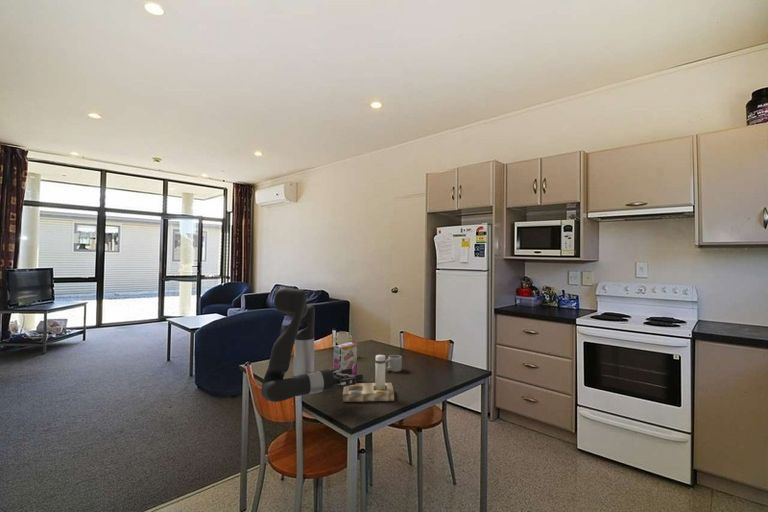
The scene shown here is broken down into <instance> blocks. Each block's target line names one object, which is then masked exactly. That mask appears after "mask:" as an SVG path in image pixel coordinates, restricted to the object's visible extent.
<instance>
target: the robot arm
mask: <svg viewBox="0 0 768 512" xmlns="http://www.w3.org/2000/svg"><path fill="white" fill-rule="evenodd" d="M273 298H274V299H273V300H274V301H273V305H274V308H275V309H276V311H277V312H279V313H284V314H285V315H286V316H288V317H289V318H290V319H291V321H290V323H289V324H288V325H287V327H286V328H285V329H284V331H283V332H282V333H281V334H280V335H279V336H278V338H276V340H275V342H274V343H273V346H272V348H271V352H270V357H269V362H268V367H267V369H266V371H265V374H264V377H263V381H262V383H261V387H260V388H261V389H260V393H261V396H262V397H263V399H264V400H266V401H268V402H273V403H279V402H283V401H287V400H289V399H292V398H294V397H295V398H296V397H300V396H305V395H311V394H317V393H322V392H326V391H332V390H333V389H334V387H335V385H338V386H340V387H341V388H344V387H345V386H350V385H355V383H357V382H361V381H363V380H364V374H362V373H360V374H358V373H357V375H353V376H352V375H350V374H352V369H351V368H349V369H344V370H343V369H340V370H339V368H336V369H333V368H332V369H330V368H326V369H321V370H315V321H316V319H315V317H316V309H315V306H314V304H307V292H306V290H305V289H301V288H293V287H284V286H283V287H280V288H278V290H277V291H276V293H275V295H274V297H273ZM301 325H306V327H305V328H303V329H300V327H301ZM299 329H300V330H299ZM293 350H294V355H293V376H292V377H289V378H284V377H285V375H286V373H287V372H288V371H289V368H290V365H291V361H292V359H291V358H292V353H293ZM345 377H346V379H345Z"/></svg>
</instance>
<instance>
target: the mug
mask: <svg viewBox="0 0 768 512" xmlns="http://www.w3.org/2000/svg"><path fill="white" fill-rule="evenodd" d="M402 357H403V356H402V355H399V354H390V355H388V358H387V359H385V371H389V372H392V373H396V372H401V371H402V367H403V366H402V365H403V364H402V362H403V360H402V359H403V358H402ZM387 363H388V364H387ZM387 365H388V366H387Z"/></svg>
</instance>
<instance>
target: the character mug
mask: <svg viewBox="0 0 768 512" xmlns="http://www.w3.org/2000/svg"><path fill="white" fill-rule="evenodd" d="M352 341H353V336H352V335H351V334H350V332H347V331H338V332H336V335H334V336H333V343H336V344H337V345H340V344H345V343H349V342H352Z"/></svg>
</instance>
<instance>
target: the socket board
mask: <svg viewBox="0 0 768 512" xmlns="http://www.w3.org/2000/svg"><path fill="white" fill-rule="evenodd" d="M390 401H391V402H392V401H393V402H394V401H395V391H394V388H393V384H392V382H385V390H375V382H361V383H360V382H359V383H358V382H356V383H355V385H350V386H345V387H343V390H342V402H343V403H344V402H345V403H346V402H348V403H349V402H390Z"/></svg>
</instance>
